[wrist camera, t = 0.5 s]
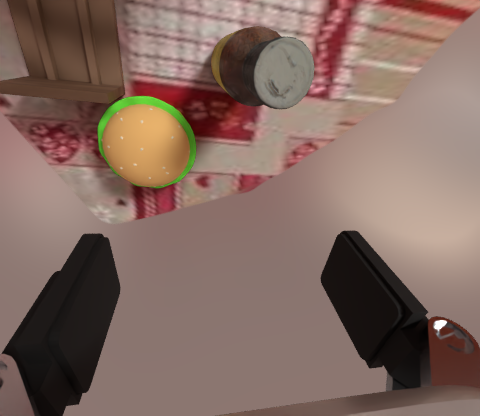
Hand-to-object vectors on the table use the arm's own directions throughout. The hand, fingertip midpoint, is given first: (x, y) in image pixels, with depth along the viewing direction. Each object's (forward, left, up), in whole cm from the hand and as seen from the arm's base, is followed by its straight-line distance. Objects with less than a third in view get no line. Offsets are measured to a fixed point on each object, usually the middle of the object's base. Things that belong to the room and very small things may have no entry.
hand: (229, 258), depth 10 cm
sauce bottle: (-6, +3, -29) cm, 30 cm away
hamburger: (+4, -7, -29) cm, 30 cm away
